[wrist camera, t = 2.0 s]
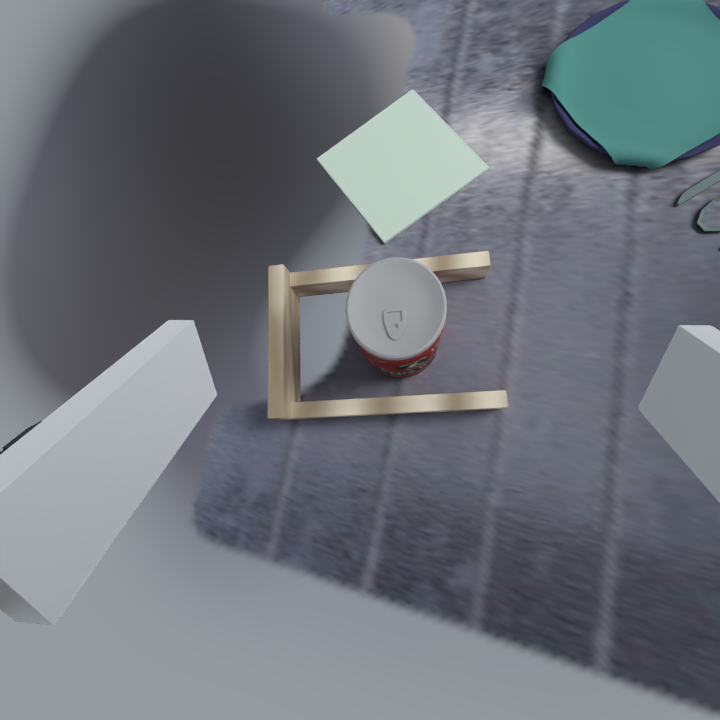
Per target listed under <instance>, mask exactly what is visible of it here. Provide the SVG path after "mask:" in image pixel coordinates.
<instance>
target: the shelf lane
mask: <svg viewBox="0 0 720 720" xmlns="http://www.w3.org/2000/svg"><path fill="white" fill-rule="evenodd" d="M412 260H415V261H417V262H420V263H422V264H423V265H425V266H426V267H428V268H429V269H430V270H431V271H432V272H433V273H434V274H435V275H436V276H437V278H438V279H439V281H440V282H451V281H461V280H471V279H481V278H485V276H486V274H487V272H488V270H489V267H490V257H489V251H483V252H474V253H465V254H456V255H447V256H438V257H429V258H420V259H412ZM370 265H372V264H366V265H357V266H348V267H340V268H330V269H321V270H312V271H303V272H294V273H290V272H289V271H288V270H287V269H286V267H284V265H283V264H282V265H274V266H269V285H268V287H269V288H268V289H269V290H268V293H269V294H268V418H269V419H286V420H288V419H308V418H328V417H348V416H368V415H388V414H408V413H428V412H448V411H468V410H488V409H502V408H507V407H508V402H507V394H506V390H501V391H484V392H466V393H449V394H431V395H414V396H396V397H379V398H361V399H344V400H326V401H308V402H300V324H299V323H300V321H299V320H300V314H299V297H302V296H312V295H322V294H332V293H342V292H349V290H350V288H351V286H352V284H353V282H354V281H355V279H356V278H357V276H358V275H359V274H360V273H361V272H362V271H363V270H364V269H365V268H367V267H368V266H370Z"/></svg>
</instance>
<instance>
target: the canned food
mask: <svg viewBox="0 0 720 720" xmlns="http://www.w3.org/2000/svg"><path fill="white" fill-rule="evenodd" d="M446 315H447V302H446V296H445V292H444V289H443V287H442V284H441V282H440V281H439V279H438V278H437V276H436V275H435V274H434V273H433V272H432V271H431V270H430V269H429V268H428V267H426V266H425V265H423V264H422V263H420V262H417V261H415V260H412V259H408V258H402V257H395V258H387V259H383V260H380V261H378V262H375V263H373V264H372V265H370V266H368V267H367V268H365V269H364V270H363V271H362V272H361V273H360V274H359V275H358V276H357V278H356V279H355V281H354V282H353V284H352V286H351V288H350V290H349V292H348V296H347V300H346V318H347V323H348V326H349V329H350V332H351V334H352V335H353V337H354V339H355V340H356V342H357V344H358V345H359V347H360V348H361V349H362V351H363V352H364V354H365V355H366V356H367V358H368V359H369V360H370V362H371V363H372V364H373V365H374V366H375V368H377V369H378V370H379V371H381V372H382V373H384V374H386V375H388V376H392V377H400V378H404V377H410V376H413V375H416V374H418V373H419V372H421V371H423V370H424V369H425V368H426V367H427V366H428V365H429V364H430V363H431V361H432V360H433V359H434V357H435V354H436V352H437V349H438V346H439V342H440V339H441V336H442V332H443V329H444V325H445V320H446Z"/></svg>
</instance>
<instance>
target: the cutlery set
mask: <svg viewBox="0 0 720 720" xmlns="http://www.w3.org/2000/svg"><path fill="white" fill-rule="evenodd" d="M542 86H544V87H547V88H548V89H550V90H551V94H552V100H553V105H554V109H555V111H556V112H557V114H558V115H559V117H560V119H561V120H562V122H563V123H564V125H565V126H566V128H567V130H568V131H569V132H571V133H572V134H573V135H574V136H576V137H577V138H578V139H579V140H581V141H582V142H583V143H585V144H586V145H587V146H588V147H590V148H591V149H594V150H596V151H599V152H601V153H604V154H607V155H609V156H611V157H612V159H613V161H614V163H615V164H617V165H623V164H626V165H628V166H633V165H636V166H638V167H648V168H649V169H653V168H659V167H661V166H663V165H666V164H668V163H669V162H671V161H674V160H681V159H688V158H691V157H693V156H695V155H698V154H700V153H702V152H705V151H707V150H709V149H711V148H714V147H716V146H718V145H720V9H719V8H717V7H715V6H714V5H710V4H707V3H705V2H704V1H703V0H630V1H625V2H620V3H617V4H615V5H613V6H611V7H609V8H607V9H605V10H603V11H601V12H599V13H596V14H594V15H592V16H591V17H589V18H588V19H587V20H586V21H585V22H584V23H582V24H581V25H580V26H579V27H578V28H577V29H575V30H574V31H573V32H572V33H571V34H569V36H568V38H567V39H566V41H565V42H564V43H562V44H561V45H559V46H558V47H557V48H556V49H555V50H554V51H553V52H552V53H551V55H550V57H549V59H548V61H547V63H546V72H545V76H544V80H543V83H542ZM719 181H720V171H718V172H717V173H715V174H713V175H711V176H710V177H708V178H706V179H705V180H703V181H701V182H700V183H698V184H697V185H695V186H693V187H692V188H690V189H689V190H687V191H686V192H684V193H683V194H682V195H681V196H680V197H679V198H678V200H677V202H676V206H679V205H681V204H682V203H684V202H685V201H687V200H689V199H690V198H692V197H694V196H695V195H697V194H699V193H700V192H702V191H704V190H705V189H707V188H709V187H710V186H712V185H714V184H715V183H717V182H719ZM717 201H720V196H719V197H717V198H714V199H713V200H712V201H711V202H710V203H709V204H708V205H707V206H706V207H704V208H703V209H702V210H701V213H700V216H699V218H698V221H697V224H698V225H699V226H700V227H701V228H702V229H703V230H704V231H720V228H708V227H707V226H706V225H705V224H704V223H703V222H702V219H703V216H704V214H705V211H706V210H707V209H708V208H709V207H710V206H711V205H712V204H713V203H715V202H717ZM719 250H720V248H719Z"/></svg>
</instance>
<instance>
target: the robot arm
mask: <svg viewBox="0 0 720 720" xmlns="http://www.w3.org/2000/svg"><path fill="white" fill-rule="evenodd" d="M216 396H217V393H216V390H215V386H214V383H213V380H212V377H211V374H210V371H209V368H208V365H207V361H206V358H205V355H204V352H203V349H202V346H201V342H200V339H199V336H198V333H197V330H196V327H195V324H194V321H193V320H168V321H167V322H166V323H165V324H163V325H162V326H161V327H160V328H158V329H157V330H156V331H155V332H153V333H152V334H151V335H150V336H148V337H147V338H146V339H145V340H143V341H142V342H141V343H140V344H138V345H137V346H136V347H135V348H133V349H132V350H131V351H130V352H128V353H127V354H126V355H125V356H123V357H122V358H121V359H119V360H118V361H117V362H116V363H114V364H113V365H112V366H111V367H110V368H108V369H107V370H106V371H105V372H103V373H102V374H101V375H99V376H98V377H97V378H96V379H95V380H93V381H92V382H91V383H89V384H88V385H87V386H86V387H85V388H83V389H82V390H81V391H79V392H78V393H77V394H76V395H74V396H73V397H72V398H71V399H70V400H68V401H67V402H66V403H65V404H63V405H62V406H61V407H59V408H58V409H57V410H56V411H54V412H53V413H52V414H51V415H49V416H48V417H47V418H46V419H44V420H42V421H40V422H38V423H37V424H35V425H33V426H31V427H29V428H27V429H26V430H25V431H24V432H22V433H21V434H20V435H18V436H17V437H16V438H14V439H13V440H12V441H11V442H9V443H8V444H7V445H6V446H4V447H3V451H2V452H0V609H1V610H2V611H3V612H4V613H6V614H7V615H8V616H9V617H10V618H12V619H13V620H14V621H17V622H25V623H35V624H44V625H55V624H56V622H57V621H58V619H59V618H60V616H61V615H62V614H63V612H64V610H65V609H66V608H67V607H68V605H69V604H70V602H71V601H72V599H73V598H74V597H75V595H76V594H77V592H78V591H79V589H80V588H81V587H82V585H83V584H84V582H85V581H86V580H87V578H88V577H89V575H90V574H91V572H92V571H93V570H94V568H95V567H96V565H97V564H98V562H99V561H100V560H101V558H102V557H103V556H104V554H105V553H106V551H107V550H108V549H109V547H110V546H111V544H112V543H113V541H114V540H115V539H116V537H117V536H118V534H119V533H120V531H121V530H122V529H123V527H124V526H125V524H126V523H127V522H128V520H129V519H130V517H131V516H132V514H133V513H134V512H135V510H136V509H137V507H138V506H139V505H140V503H141V502H142V500H143V499H144V497H145V496H146V495H147V493H148V492H149V490H150V489H151V488H152V486H153V485H154V483H155V482H156V481H157V479H158V478H159V476H160V475H161V473H162V472H163V471H164V469H165V468H166V466H167V465H168V464H169V462H170V461H171V459H172V458H173V456H174V455H175V454H176V452H177V451H178V449H179V448H180V447H181V445H182V444H183V442H184V441H185V439H186V438H187V437H188V435H189V434H190V432H191V431H192V430H193V428H194V427H195V425H196V424H197V422H198V421H199V420H200V418H201V417H202V415H203V414H204V412H205V411H206V410H207V408H208V407H209V405H210V404H211V403H212V401H213V400H214V398H215V397H216ZM638 409H639V411H640V412H641V413H642V414H643V415H644V416H645V417H646V419H647V420H648V421H649V422H650V423H651V424H652V426H653V427H654V428H655V429H656V430H657V431H658V432H659V434H660V435H661V436H662V437H663V438H664V439H665V441H666V442H667V443H668V444H669V445H670V446H671V447H672V449H673V450H674V451H675V452H676V453H677V454H678V455H679V457H680V458H681V459H682V460H683V461H684V462H685V464H686V465H687V466H688V467H689V468H690V469H691V470H692V472H693V473H694V474H695V475H696V476H697V477H698V479H699V480H700V481H701V482H702V483H703V484H704V485H705V487H706V488H707V489H708V490H709V491H710V492H711V493H712V495H713V496H714V497H715V498H716V499H717V500H718V502H719V503H720V330H718V329H716V328H715V327H713V326H708V325H679V326H678V328H677V330H676V332H675V334H674V336H673V338H672V340H671V342H670V344H669V346H668V348H667V350H666V352H665V354H664V356H663V358H662V360H661V362H660V364H659V366H658V368H657V370H656V372H655V374H654V376H653V378H652V380H651V382H650V384H649V386H648V388H647V390H646V392H645V394H644V396H643V398H642V400H641V402H640V404H639V406H638Z"/></svg>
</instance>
